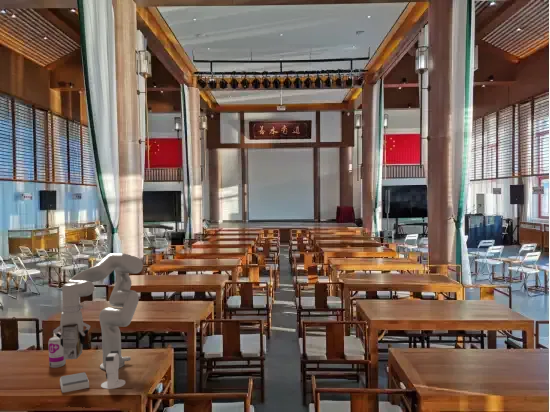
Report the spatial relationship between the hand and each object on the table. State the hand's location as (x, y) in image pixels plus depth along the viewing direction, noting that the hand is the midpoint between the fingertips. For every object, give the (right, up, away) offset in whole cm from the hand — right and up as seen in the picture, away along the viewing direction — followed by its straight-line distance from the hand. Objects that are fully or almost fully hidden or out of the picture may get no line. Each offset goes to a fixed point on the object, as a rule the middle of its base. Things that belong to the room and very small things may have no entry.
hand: (72, 344), depth 243 cm
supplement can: (-21, -20, +32) cm, 43 cm away
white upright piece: (+19, -20, +2) cm, 28 cm away
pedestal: (+1, -20, +1) cm, 20 cm away
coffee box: (0, -6, 0) cm, 6 cm away
